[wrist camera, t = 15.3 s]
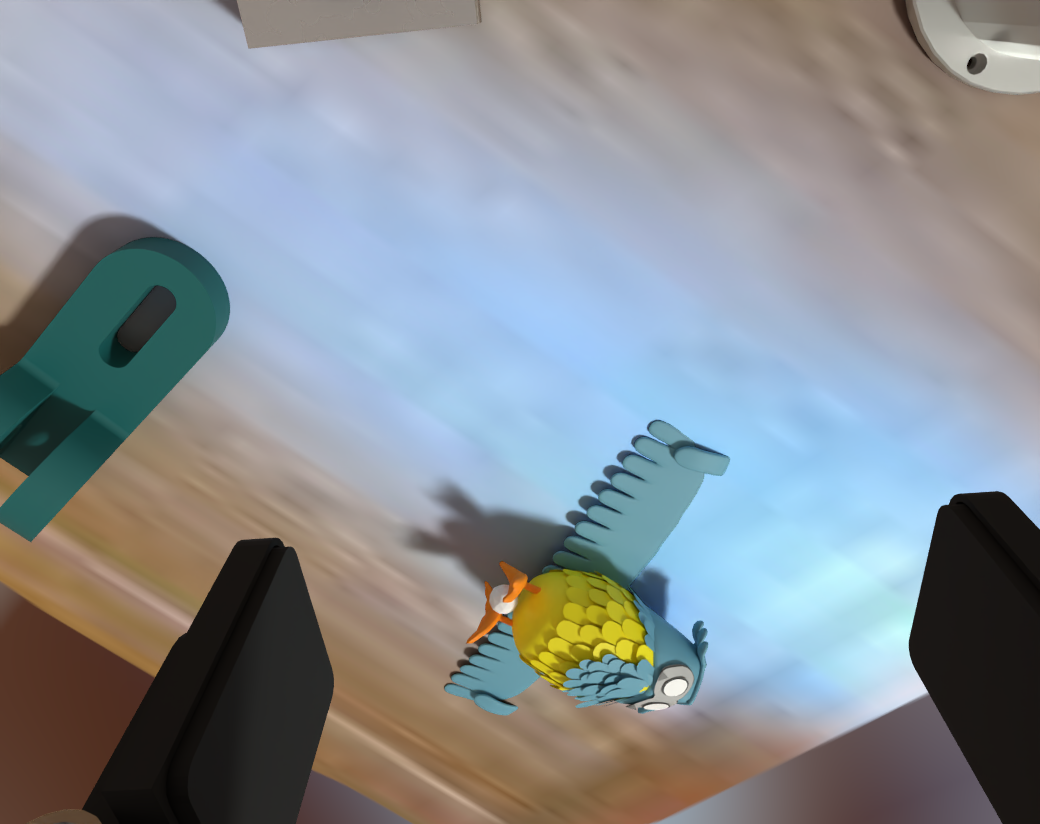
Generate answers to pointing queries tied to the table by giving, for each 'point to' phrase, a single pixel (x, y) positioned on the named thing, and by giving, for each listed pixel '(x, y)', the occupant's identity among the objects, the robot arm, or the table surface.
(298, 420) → the table surface
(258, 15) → the mounting plate
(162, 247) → the bracket
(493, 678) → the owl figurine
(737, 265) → the table surface
